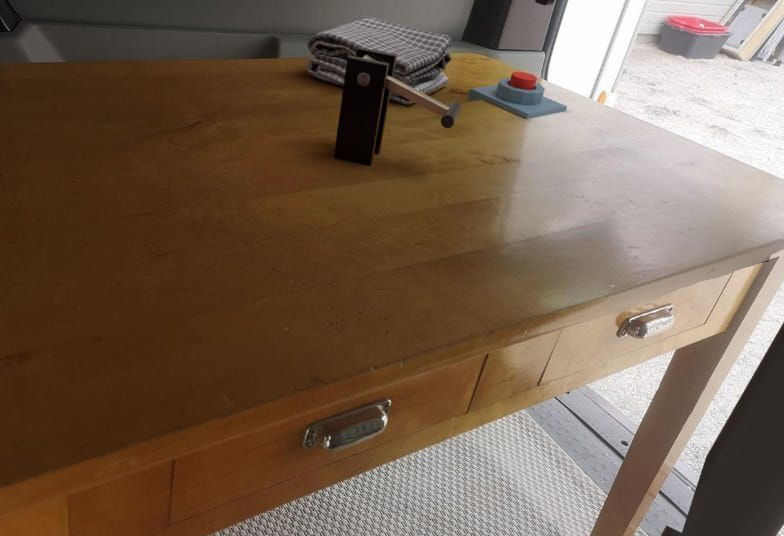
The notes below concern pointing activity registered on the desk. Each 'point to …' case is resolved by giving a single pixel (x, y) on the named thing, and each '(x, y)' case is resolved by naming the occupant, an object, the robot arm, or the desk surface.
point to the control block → (517, 99)
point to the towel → (413, 48)
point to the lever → (424, 100)
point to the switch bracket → (364, 106)
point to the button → (523, 80)
